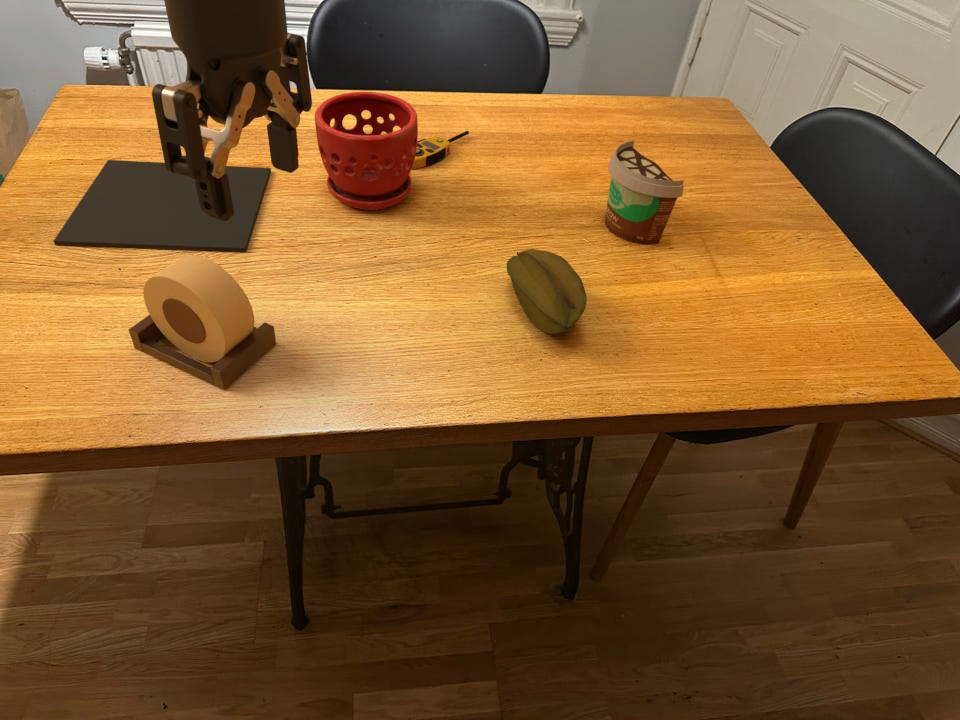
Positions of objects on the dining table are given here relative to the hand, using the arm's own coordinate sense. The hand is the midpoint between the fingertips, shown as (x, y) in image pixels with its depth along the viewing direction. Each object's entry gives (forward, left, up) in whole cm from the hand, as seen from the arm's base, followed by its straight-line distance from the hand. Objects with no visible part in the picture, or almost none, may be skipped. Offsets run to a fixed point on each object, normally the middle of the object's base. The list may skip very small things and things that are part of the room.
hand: (254, 191), depth 55 cm
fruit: (+28, +12, -21) cm, 37 cm away
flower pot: (+7, +37, -21) cm, 43 cm away
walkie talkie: (+17, +51, -21) cm, 58 cm away
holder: (-8, +5, -21) cm, 23 cm away
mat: (-18, +32, -21) cm, 42 cm away
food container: (+42, +31, -21) cm, 56 cm away
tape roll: (-8, +5, -21) cm, 23 cm away
